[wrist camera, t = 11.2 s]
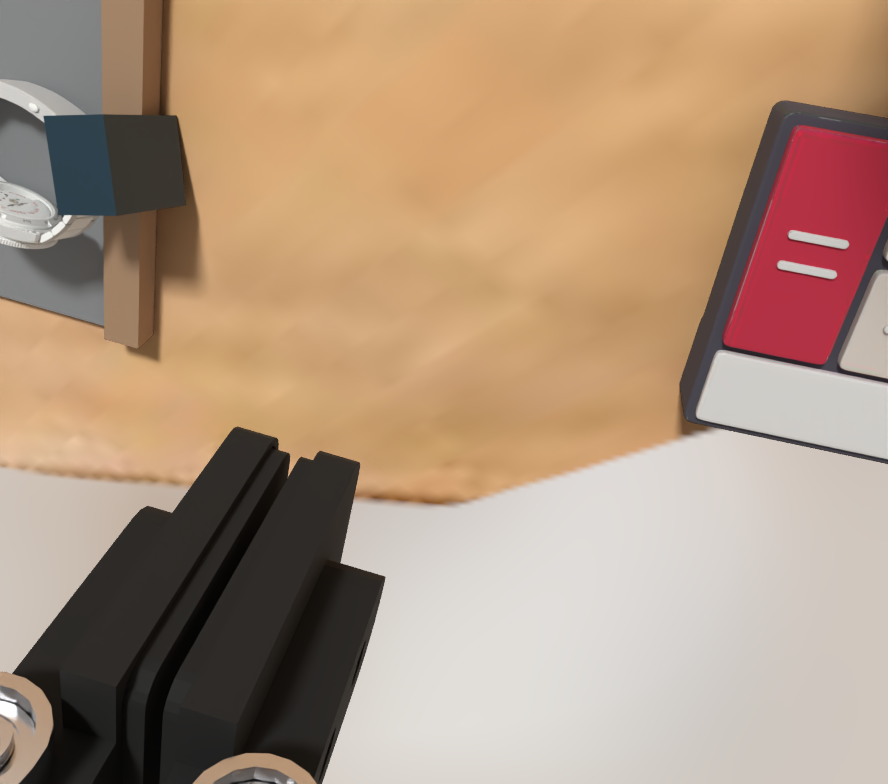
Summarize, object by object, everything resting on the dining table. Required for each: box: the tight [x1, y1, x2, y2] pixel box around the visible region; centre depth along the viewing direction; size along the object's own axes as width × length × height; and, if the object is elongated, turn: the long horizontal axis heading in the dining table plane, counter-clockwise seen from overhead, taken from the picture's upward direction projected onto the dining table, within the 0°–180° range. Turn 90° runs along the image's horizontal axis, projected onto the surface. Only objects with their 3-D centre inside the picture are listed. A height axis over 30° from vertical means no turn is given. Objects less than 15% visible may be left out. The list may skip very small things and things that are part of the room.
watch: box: [0, 79, 186, 249], centre depth 41 cm, size 6×8×11 cm
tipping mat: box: [0, 0, 163, 349], centre depth 41 cm, size 24×14×2 cm, turn 168°
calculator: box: [680, 101, 888, 464], centre depth 38 cm, size 11×4×15 cm
